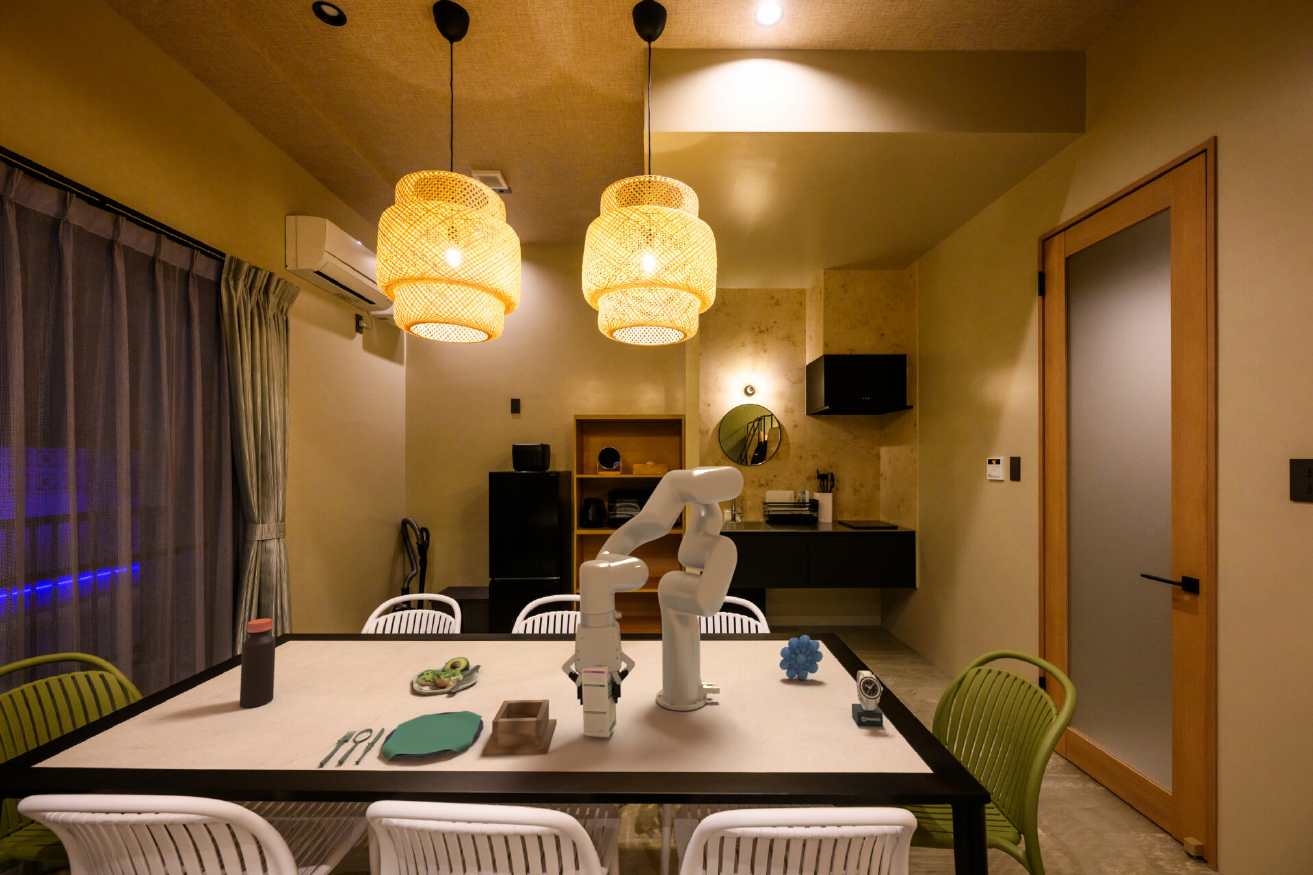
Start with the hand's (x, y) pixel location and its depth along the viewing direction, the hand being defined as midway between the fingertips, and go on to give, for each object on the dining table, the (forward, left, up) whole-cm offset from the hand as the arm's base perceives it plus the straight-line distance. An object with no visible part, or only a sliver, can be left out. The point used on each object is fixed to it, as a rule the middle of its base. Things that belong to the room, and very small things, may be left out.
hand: (599, 700), depth 116 cm
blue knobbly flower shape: (-53, -29, -7) cm, 61 cm away
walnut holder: (+17, 0, -7) cm, 18 cm away
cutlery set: (+40, 0, -8) cm, 41 cm away
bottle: (+87, -22, -7) cm, 90 cm away
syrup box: (0, 0, -6) cm, 6 cm away
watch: (-60, -3, -7) cm, 61 cm away
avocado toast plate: (+44, -33, -8) cm, 55 cm away
